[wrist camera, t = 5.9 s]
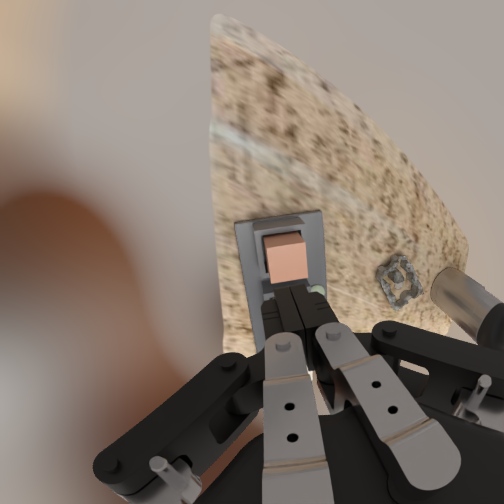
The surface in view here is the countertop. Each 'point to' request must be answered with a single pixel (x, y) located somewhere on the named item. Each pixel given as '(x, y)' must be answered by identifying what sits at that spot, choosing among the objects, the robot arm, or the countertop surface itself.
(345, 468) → the robot arm
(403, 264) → the grey ruined fortress
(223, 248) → the countertop surface
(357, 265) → the countertop surface
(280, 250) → the terracotta key
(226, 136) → the countertop surface
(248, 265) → the key panel
